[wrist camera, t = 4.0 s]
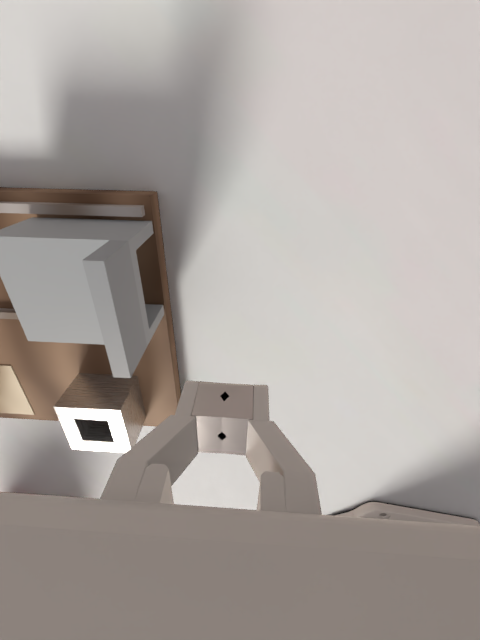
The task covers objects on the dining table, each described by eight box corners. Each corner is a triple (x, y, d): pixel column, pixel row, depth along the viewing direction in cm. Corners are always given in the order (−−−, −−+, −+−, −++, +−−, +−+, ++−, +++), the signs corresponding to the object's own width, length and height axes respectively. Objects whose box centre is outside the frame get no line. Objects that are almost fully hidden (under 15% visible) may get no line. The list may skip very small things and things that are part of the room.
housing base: (157, 191, 21) (133, 205, 17) (183, 416, 32) (173, 454, 28) (-180, 182, 22) (-275, 193, 18) (-37, 403, 33) (-75, 439, 29)
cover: (152, 220, 20) (103, 261, 14) (164, 314, 24) (130, 378, 17) (32, 217, 20) (-67, 255, 14) (62, 309, 24) (-6, 371, 18)
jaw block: (137, 375, 28) (120, 410, 24) (146, 417, 30) (131, 453, 27) (78, 372, 28) (53, 406, 24) (92, 414, 31) (72, 449, 27)
